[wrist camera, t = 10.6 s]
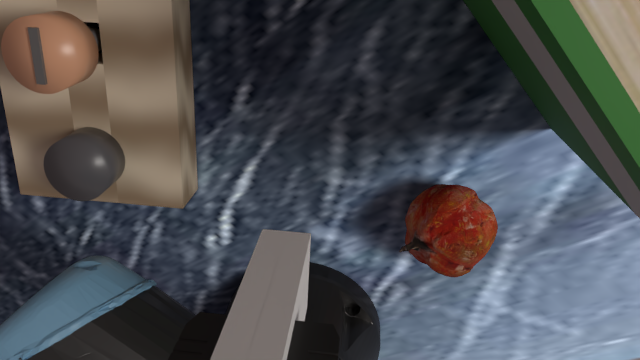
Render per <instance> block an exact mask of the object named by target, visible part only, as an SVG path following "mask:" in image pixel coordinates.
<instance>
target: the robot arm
mask: <svg viewBox="0 0 640 360" xmlns="http://www.w3.org/2000/svg"><path fill="white" fill-rule="evenodd" d="M310 240H311V234H310V233H299V232H288V231H277V230H266V229H263V230H262V232H261V235H260V237H259V240H258V242H257V244H256V247H255V249H254V252H253V254H252V257H251V259H250V262H249V264H248V267H247V269H246V272H245V274H244V277H243V279H242V282H241V284H240V286H239V287H238V288H237V290H236V291H235V293H234V295H233V296H232V299H231V301H230V303H229V306H228V308H227V311H226V313H225V315H224V314H214V313H204V312H199V313H198V314H197V315H195V314H194V313H192V312H191V311H189V310H188V309H187V308H185V307H184V306H182V305H181V304H180V303H178V302H177V301H175V300H174V299H173V298H171V297H170V296H168V295H167V294H166V293H164V292H163V291H161V290H160V289H159V288H157V287H156V286H155V285H156V284H157V283H155V282H154V281H153V280H146V279H144V278H143V277H141V276H140V275H138V274H136V273H135V272H133V271H132V270H130V269H128V268H127V267H125V266H124V265H122V264H120V263H119V262H117V261H115V260H114V259H111V258H109V257H106V256H91V257H87V258H84V259H82V260H80V261H78V262H76V263H74V264H73V265H71V266H70V267H68V268H67V269H66V270H64V271H63V272H62V273H60V274H59V275H58V276H57V277H55V278H54V279H53V280H52V281H50V282H49V283H48V284H47V285H45V286H44V287H43V288H42V289H41V290H40V291H38V292H37V293H36V294H35V295H34V296H32V297H31V298H30V299H29V300H28V301H27V302H25V303H24V304H23V305H22V306H21V307H20V308H19V309H18V310H16V311H15V312H14V313H13V314H12V315H11V316H10V317H9V318H8V319H6V320H5V321H4V322H3V323H2V324H1V325H0V360H378V356H379V351H380V322H379V317H378V314H377V311H376V308H375V306H374V304H373V302H372V301H371V299H370V298H369V296H368V295H367V293H366V292H365V291H364V290H363V289H362V288H361V287H360V286H359V285H358V284H357V283H356V282H354V281H353V280H352V279H350V278H349V277H347V276H346V275H344V274H342V273H341V272H339V271H336V270H334V269H332V268H329V267H326V266H323V265H319V264H314V263H309V260H310Z"/></svg>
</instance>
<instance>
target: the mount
mask: <svg viewBox="0 0 640 360" xmlns="http://www.w3.org/2000/svg"><path fill="white" fill-rule="evenodd" d="M50 11H63V12H67V13H70V14H72V15H74V16H76V17H77V18H79V19H80V20H81V21H83V22H84V23H85V24H86V25H87V22H92V23H99V29H100V38H101V47H102V53H98V54H99V56H98V63H97V66H96V69H95V71H94V72H93V74H92V75H91V76H90V77H89V78H88V79H86V80H84V81H82V82H80V83H78V84H76V85H73V86H71V87H69V88H67V89H64V90H62V91H60V92H58V93H54V94H41V93H37V92H34V91H31V90H29V89H27V88H26V87H24V86H23V85H21V84H20V83H19V82H18V81H17V80H16V79H15V78H14V77H13V76H12V75H11V73H10V72H9V70H8V69H7V67H6V65H5V62H4V60H3V56H2V51H1V42H2V37H3V33H4V31H5V29H6V28H7V26H8V25H9V24H10V23H11V22H13V21H14V20H16V19H18V18H20V17H23V16H29V15H34V14H39V13H44V12H50ZM0 87H1V92H2V97H3V103H4V108H5V113H6V119H7V124H8V129H9V135H10V140H11V145H12V151H13V156H14V161H15V167H16V172H17V177H18V183H19V188H20V193H21V194H24V195H36V196H47V197H58V198H67V197H65V196H64V195H62V194H60V193H59V192H58V191H57V190H56V189H55V188H54V187H53V186H52V185H51V184H50V182H49V181H48V179H47V177H46V174H45V171H44V156H45V154H46V152H47V150H48V149H49V147H50V146H51V145H53V144H54V143H56V142H57V141H59V140H61V139H62V138H64V137H66V136H67V135H69V134H71V133H72V132H74V131H76V130H78V129H80V128H84V127H93V128H98V129H101V130H103V131H105V132H107V133H109V134H110V135H111V136H112V137H114V138H115V139H116V141H117V142H118V143H119V144H120V146H121V148H122V150H123V152H124V156H125V168H124V171H123V174H122V175H121V177H120V178H119V179H118V180H117V181H116V182H115V183H113V184H112V185H111V186H110V187H109V188H108V189H107V190H106V191H104V192H103V193H102V194H101V195H100V196H99V197H97V198H95V199H93V200H92V201H103V202H115V203H126V204H137V205H149V206H160V207H171V208H184V207H185V205H186V204H187V203H188V201H189V200H190V199H191V197H192V196H193V195H194V193H195V192H196V191H197V189H198V183H197V160H196V138H195V115H194V92H193V69H192V47H191V24H190V1H189V0H0Z"/></svg>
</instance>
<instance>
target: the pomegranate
mask: <svg viewBox="0 0 640 360" xmlns="http://www.w3.org/2000/svg"><path fill="white" fill-rule="evenodd" d="M405 222H406V227H407V232H406V237H405V244H406V245H405V246H403V247H402V248H401V249H400V251H399V252H402V251H409V253H410V254H412V255H413V256H414V257H415V258H416V259H417V260H418V261H420V262H422V263H425V264H427V265H428V266H429V267H430V268H431V269H433V270H434V271H436V272H437V273H440V274H443V275H445V276H449V277H458V276H462V275H464V274H466V273H468V272H470V271H471V269H472V268H473V266H474V265H475V264H477V263H478V262H479V261H480V260H481V259H482V258H483V257H484V256H485V255H486V253H487V252H488V250H489V249H490V247H491V245H492V243H493V242H494V240H495V237H496V233H497V229H498V226H497V221H496V218H495V215H494V212H493V210H492V209H491V207H490V206H488V205H487V204H486V203H484V202H483V201H481V200H480V199H479V198H478V196H477V193H476V192H475V191H474V190H472V189H470V188H468V187H464V186H461V185H444V184H441V185H434V186H432V187H430V188H428V189H426V190H424V191H423V192H422V193H421V194H420V195H418V196H417V197H416V198H415V199H414V201H413V202H412V203H411V204H410V206H409V209H408V212H407V215H406V217H405Z"/></svg>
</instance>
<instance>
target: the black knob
mask: <svg viewBox="0 0 640 360" xmlns="http://www.w3.org/2000/svg"><path fill="white" fill-rule="evenodd" d="M124 168H125V156H124V152H123V150H122V148H121V146H120V144H119V143H118V142H117V141H116V139H115V138H114V137H112V136H111V135H110V134H109V133H107V132H105V131H103V130H101V129H98V128H93V127H84V128H80V129H78V130H76V131H74V132H72V133H71V134H69V135H67V136H66V137H64V138H62V139H61V140H59V141H57V142H56V143H54V144H53V145H51V146H50V147H49V149H48V150H47V152H46V154H45V156H44V171H45V174H46V177H47V179H48V181H49V182H50V184H51V185H52V186H53V187H54V188H55V189H56V190H57V191H58V192H59V193H60V194H62V195H64V196H65V197H67V198H70V199H73V200H77V201H89V200H93V199H95V198H97V197H99V196H100V195H101V194H102V193H103V192H104V191H106V190H107V189H108V188H109V187H110V186H111V185H112V184H113V183H115V182H116V181H117V180H118V179H119V178H120V177H121V175H122V174H123V171H124Z"/></svg>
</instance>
